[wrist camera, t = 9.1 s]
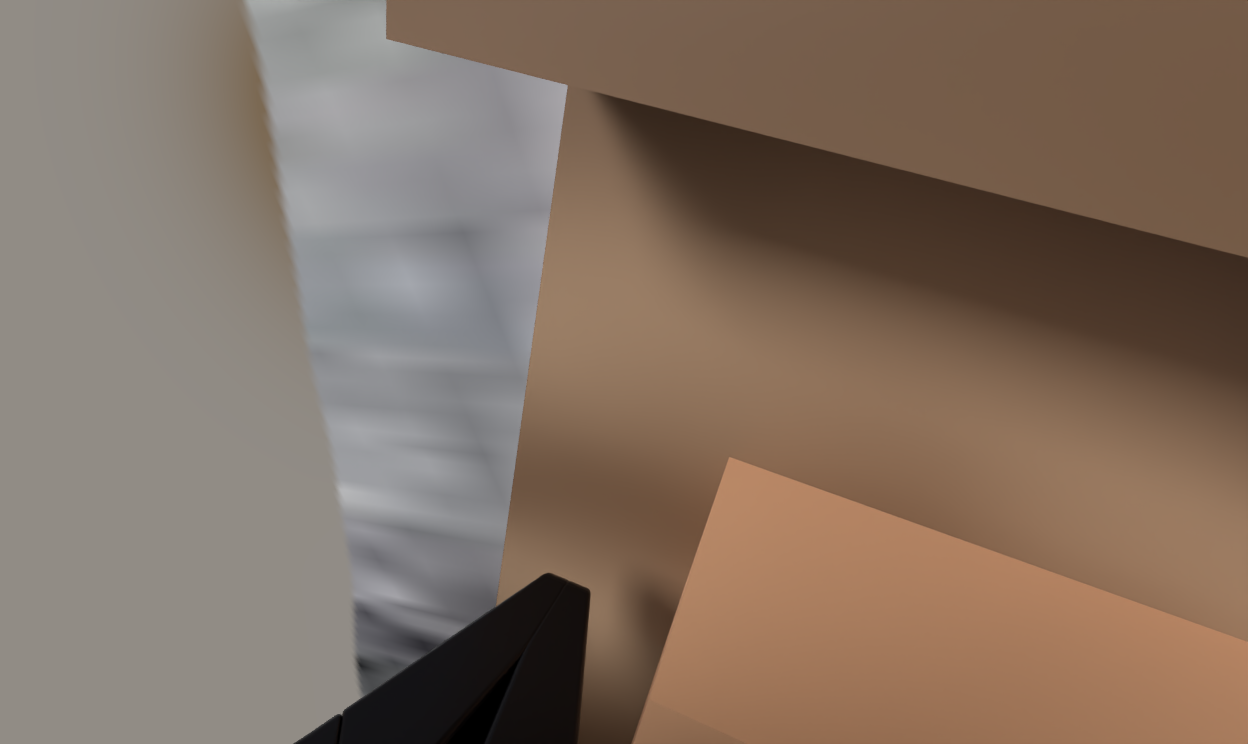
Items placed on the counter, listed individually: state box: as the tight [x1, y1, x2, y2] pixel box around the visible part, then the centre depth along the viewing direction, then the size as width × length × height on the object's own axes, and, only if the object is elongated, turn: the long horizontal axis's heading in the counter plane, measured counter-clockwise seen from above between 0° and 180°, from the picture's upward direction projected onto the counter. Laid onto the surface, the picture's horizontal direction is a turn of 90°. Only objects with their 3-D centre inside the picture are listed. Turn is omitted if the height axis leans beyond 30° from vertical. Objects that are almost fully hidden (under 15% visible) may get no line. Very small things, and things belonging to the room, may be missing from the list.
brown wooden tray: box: [386, 0, 1248, 744], centre depth 8 cm, size 18×15×4 cm
